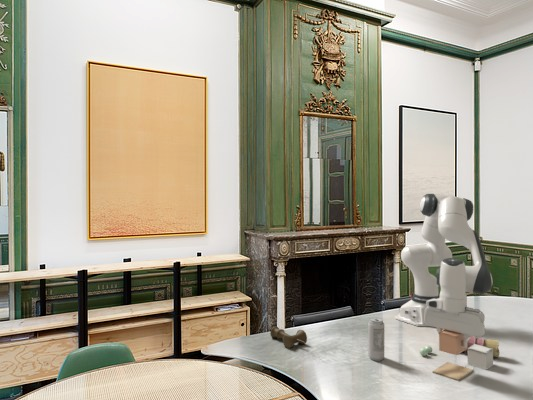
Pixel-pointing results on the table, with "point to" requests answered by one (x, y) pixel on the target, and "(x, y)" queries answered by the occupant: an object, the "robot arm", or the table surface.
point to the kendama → (289, 337)
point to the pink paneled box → (451, 342)
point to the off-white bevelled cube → (480, 356)
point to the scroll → (484, 344)
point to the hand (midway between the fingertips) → (453, 343)
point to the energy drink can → (376, 339)
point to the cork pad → (453, 371)
